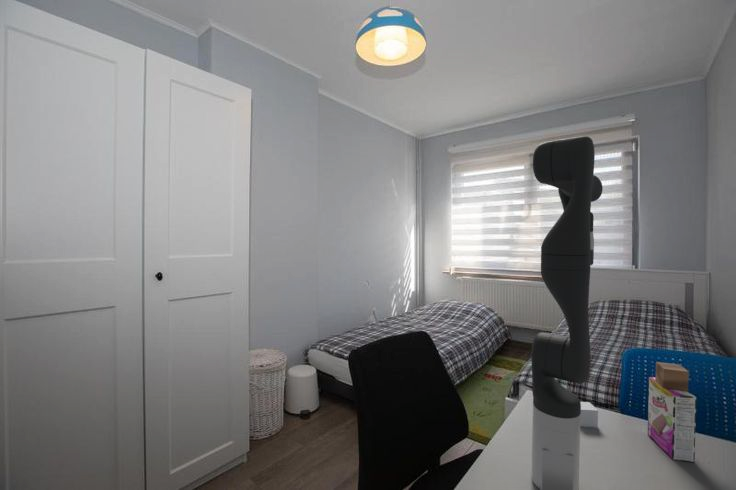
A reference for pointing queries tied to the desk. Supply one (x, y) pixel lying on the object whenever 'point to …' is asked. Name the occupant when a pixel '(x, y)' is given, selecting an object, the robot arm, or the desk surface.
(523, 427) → the desk surface
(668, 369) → the walnut block
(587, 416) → the grey block
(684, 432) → the candy bar box
